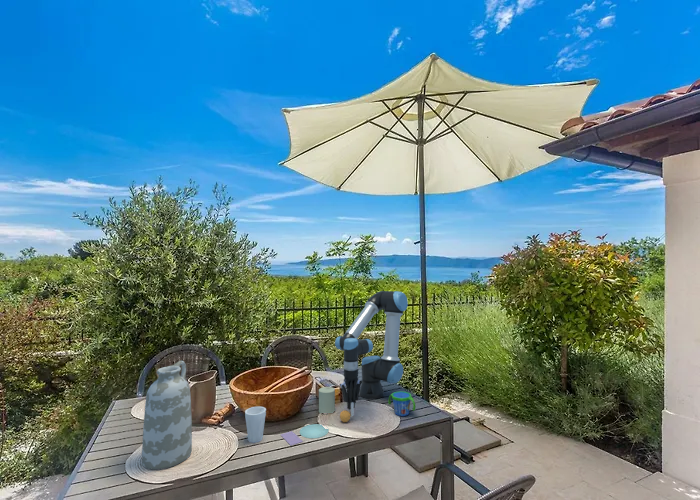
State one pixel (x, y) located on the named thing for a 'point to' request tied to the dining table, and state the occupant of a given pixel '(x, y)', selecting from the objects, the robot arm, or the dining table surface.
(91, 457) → the dining table surface
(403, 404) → the snack cup
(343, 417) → the ball
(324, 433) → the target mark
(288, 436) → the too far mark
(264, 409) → the foam cup
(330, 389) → the can
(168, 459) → the vase
